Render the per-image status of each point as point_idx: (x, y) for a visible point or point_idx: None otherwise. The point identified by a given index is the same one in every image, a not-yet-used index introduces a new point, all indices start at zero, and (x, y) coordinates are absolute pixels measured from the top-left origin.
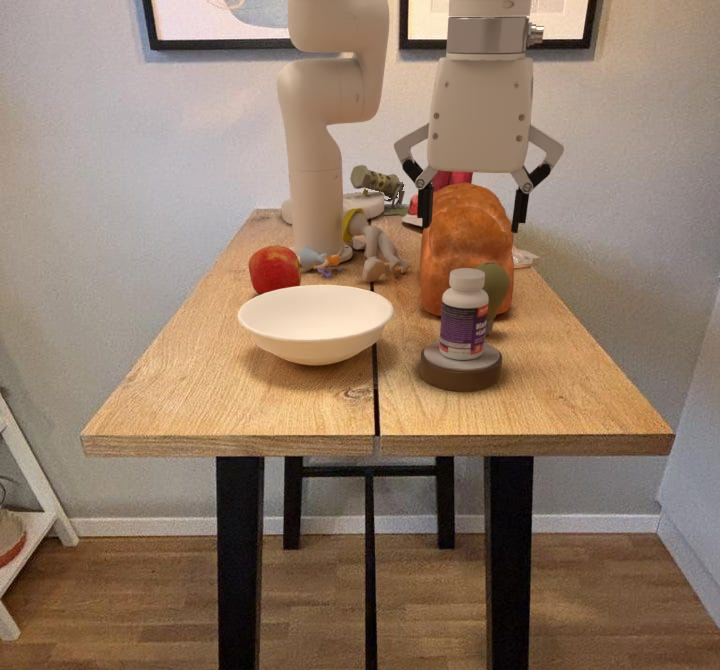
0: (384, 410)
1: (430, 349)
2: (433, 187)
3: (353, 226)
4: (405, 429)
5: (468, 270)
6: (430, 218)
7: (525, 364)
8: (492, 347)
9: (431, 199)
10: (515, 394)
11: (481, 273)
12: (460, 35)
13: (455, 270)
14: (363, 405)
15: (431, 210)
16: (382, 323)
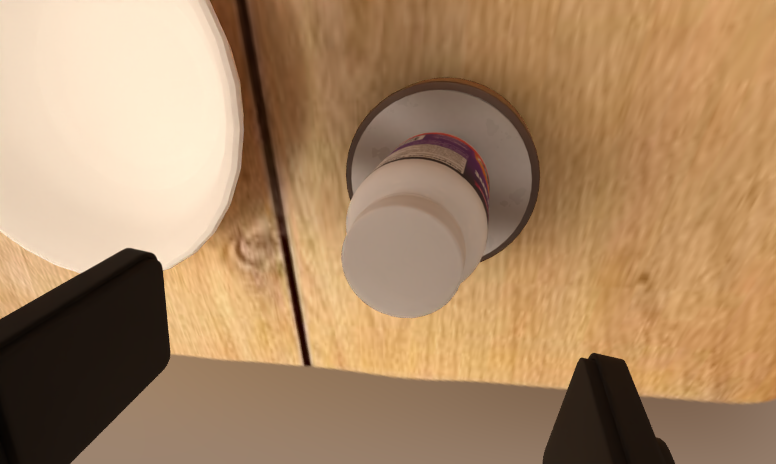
0: (308, 307)
1: (365, 166)
2: (4, 377)
3: None
4: (345, 360)
5: (405, 235)
6: (147, 327)
7: (615, 114)
8: (520, 151)
9: (72, 393)
10: (548, 263)
11: (449, 271)
12: None
13: (358, 235)
14: (273, 290)
15: (120, 326)
16: (228, 194)
